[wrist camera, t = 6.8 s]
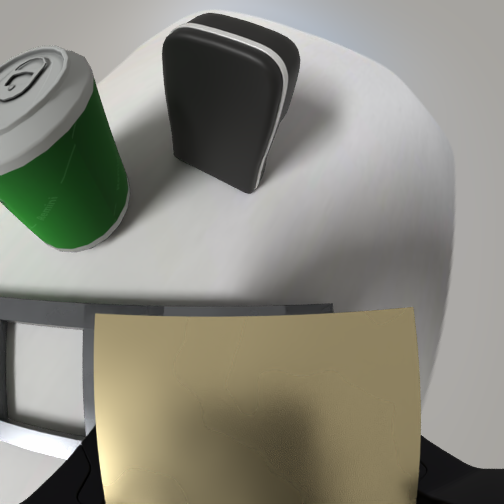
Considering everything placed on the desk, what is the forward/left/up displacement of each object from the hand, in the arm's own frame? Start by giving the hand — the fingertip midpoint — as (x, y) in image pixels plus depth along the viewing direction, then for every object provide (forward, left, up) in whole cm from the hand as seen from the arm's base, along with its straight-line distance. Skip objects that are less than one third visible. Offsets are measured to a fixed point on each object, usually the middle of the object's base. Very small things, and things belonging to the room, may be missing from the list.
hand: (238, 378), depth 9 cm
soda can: (+11, +10, -10) cm, 18 cm away
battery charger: (+15, 0, -10) cm, 18 cm away
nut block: (-1, 0, -7) cm, 7 cm away
